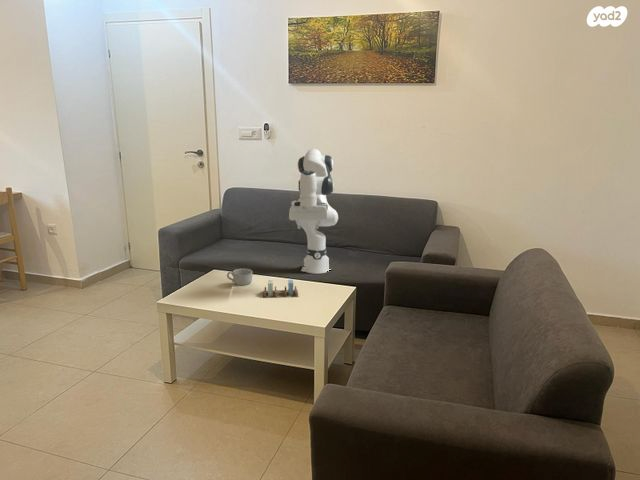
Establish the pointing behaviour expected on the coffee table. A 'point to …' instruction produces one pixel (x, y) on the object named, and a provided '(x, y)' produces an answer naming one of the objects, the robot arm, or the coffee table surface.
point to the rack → (280, 293)
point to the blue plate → (290, 287)
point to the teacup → (241, 276)
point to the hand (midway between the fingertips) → (308, 228)
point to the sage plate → (270, 287)
